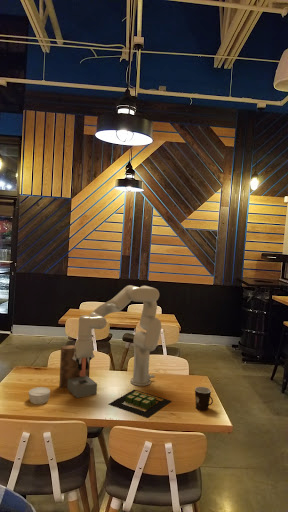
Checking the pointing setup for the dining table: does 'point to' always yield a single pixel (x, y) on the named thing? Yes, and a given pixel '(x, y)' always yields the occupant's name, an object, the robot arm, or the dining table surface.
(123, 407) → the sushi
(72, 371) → the wood grain panel
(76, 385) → the socket block
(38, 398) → the ramekin
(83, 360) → the peg
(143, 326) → the robot arm
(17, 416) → the dining table surface
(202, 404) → the coffee mug
